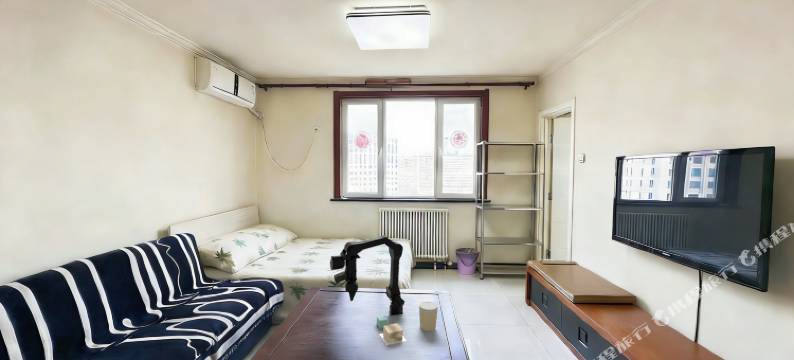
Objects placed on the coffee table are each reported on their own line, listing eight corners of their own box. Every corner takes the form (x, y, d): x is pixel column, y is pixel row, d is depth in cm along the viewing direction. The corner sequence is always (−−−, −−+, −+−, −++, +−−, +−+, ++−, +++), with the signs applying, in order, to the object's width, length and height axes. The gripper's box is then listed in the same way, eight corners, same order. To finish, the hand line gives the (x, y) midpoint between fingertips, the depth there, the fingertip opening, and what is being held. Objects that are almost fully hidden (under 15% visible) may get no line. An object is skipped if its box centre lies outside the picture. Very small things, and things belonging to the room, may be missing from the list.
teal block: (385, 324, 163) (385, 315, 163) (388, 328, 159) (388, 319, 159) (376, 326, 162) (376, 316, 161) (379, 330, 157) (379, 320, 157)
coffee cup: (438, 326, 163) (439, 303, 162) (434, 335, 154) (435, 311, 153) (421, 322, 166) (421, 300, 165) (416, 331, 157) (416, 307, 156)
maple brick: (396, 332, 154) (397, 323, 154) (402, 339, 148) (402, 330, 147) (383, 335, 152) (383, 325, 151) (388, 342, 145) (388, 333, 145)
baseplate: (398, 332, 156) (398, 330, 156) (406, 343, 147) (406, 341, 147) (379, 335, 152) (379, 333, 152) (386, 347, 143) (386, 345, 143)
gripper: (335, 262, 170) (335, 290, 171) (334, 274, 152) (335, 306, 153) (356, 261, 172) (356, 289, 173) (358, 273, 154) (358, 304, 155)
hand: (351, 297), depth 163 cm, fingers open, 9 cm apart
